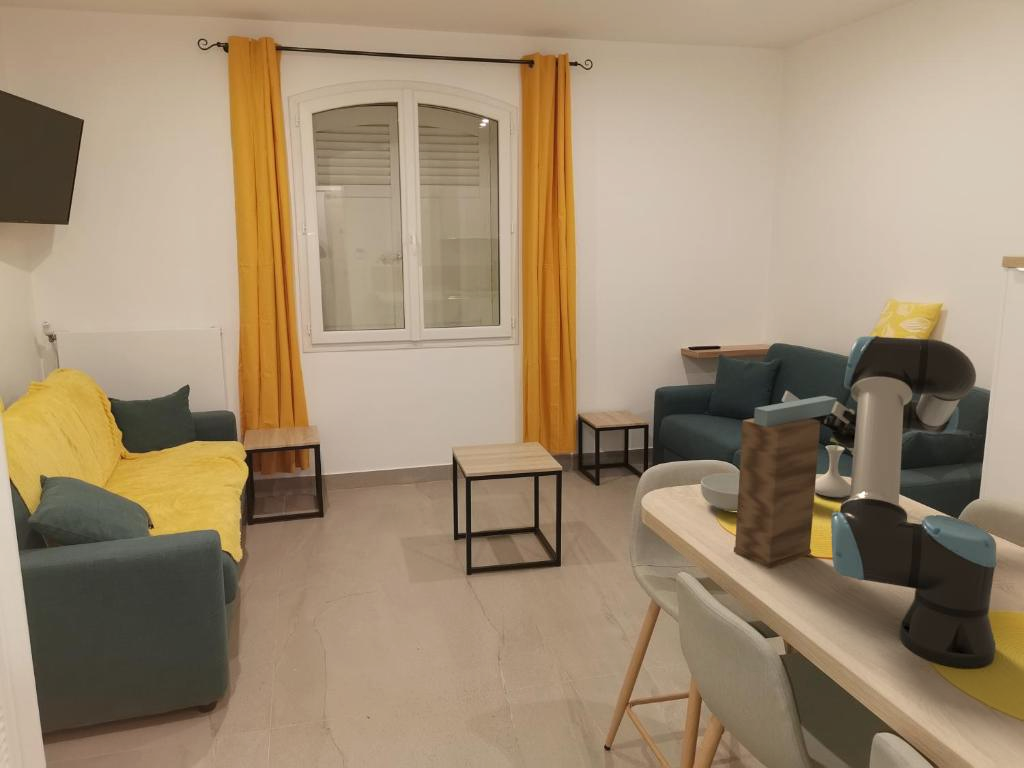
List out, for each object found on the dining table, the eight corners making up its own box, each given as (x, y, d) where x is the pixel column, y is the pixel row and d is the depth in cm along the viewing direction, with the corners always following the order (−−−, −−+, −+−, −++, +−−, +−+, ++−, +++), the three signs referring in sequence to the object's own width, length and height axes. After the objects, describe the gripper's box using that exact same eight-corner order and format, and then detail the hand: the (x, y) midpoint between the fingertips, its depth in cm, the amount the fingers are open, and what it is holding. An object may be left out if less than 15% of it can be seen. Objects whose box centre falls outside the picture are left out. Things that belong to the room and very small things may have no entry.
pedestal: (810, 554, 179) (821, 421, 172) (769, 568, 171) (779, 430, 165) (774, 539, 187) (783, 412, 181) (733, 552, 180) (741, 420, 174)
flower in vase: (827, 502, 212) (834, 415, 207) (801, 489, 223) (808, 405, 218) (866, 498, 216) (875, 412, 211) (839, 485, 226) (847, 403, 221)
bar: (836, 412, 180) (837, 398, 180) (766, 426, 168) (767, 411, 167) (823, 410, 183) (824, 395, 182) (753, 423, 171) (754, 408, 170)
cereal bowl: (697, 515, 203) (699, 489, 202) (701, 494, 219) (702, 470, 218) (764, 521, 199) (766, 496, 197) (763, 500, 214) (765, 476, 213)
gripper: (896, 461, 178) (851, 427, 166) (805, 436, 199) (759, 405, 187) (908, 431, 179) (864, 396, 167) (816, 410, 199) (771, 378, 188)
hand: (808, 401), depth 177 cm, fingers open, 13 cm apart
